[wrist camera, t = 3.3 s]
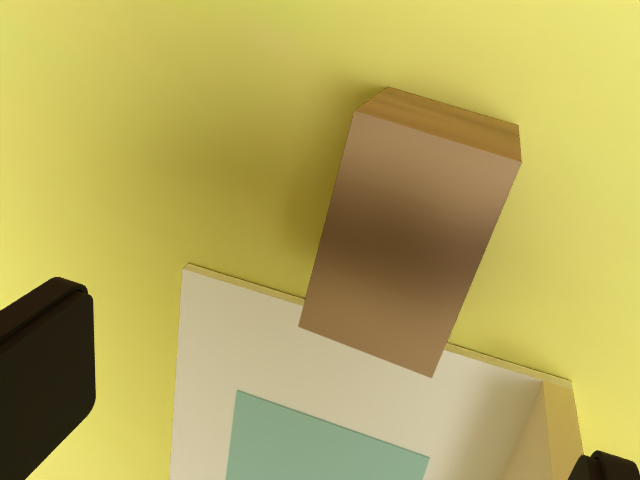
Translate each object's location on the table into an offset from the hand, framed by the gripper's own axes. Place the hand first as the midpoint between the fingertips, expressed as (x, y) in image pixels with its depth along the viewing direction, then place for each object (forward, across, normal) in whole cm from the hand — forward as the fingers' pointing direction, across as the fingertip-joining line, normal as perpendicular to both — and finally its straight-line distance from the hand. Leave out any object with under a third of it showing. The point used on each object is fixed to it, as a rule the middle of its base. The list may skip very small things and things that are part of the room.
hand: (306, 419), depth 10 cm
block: (+14, 0, 0) cm, 14 cm away
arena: (+14, +1, +15) cm, 21 cm away
